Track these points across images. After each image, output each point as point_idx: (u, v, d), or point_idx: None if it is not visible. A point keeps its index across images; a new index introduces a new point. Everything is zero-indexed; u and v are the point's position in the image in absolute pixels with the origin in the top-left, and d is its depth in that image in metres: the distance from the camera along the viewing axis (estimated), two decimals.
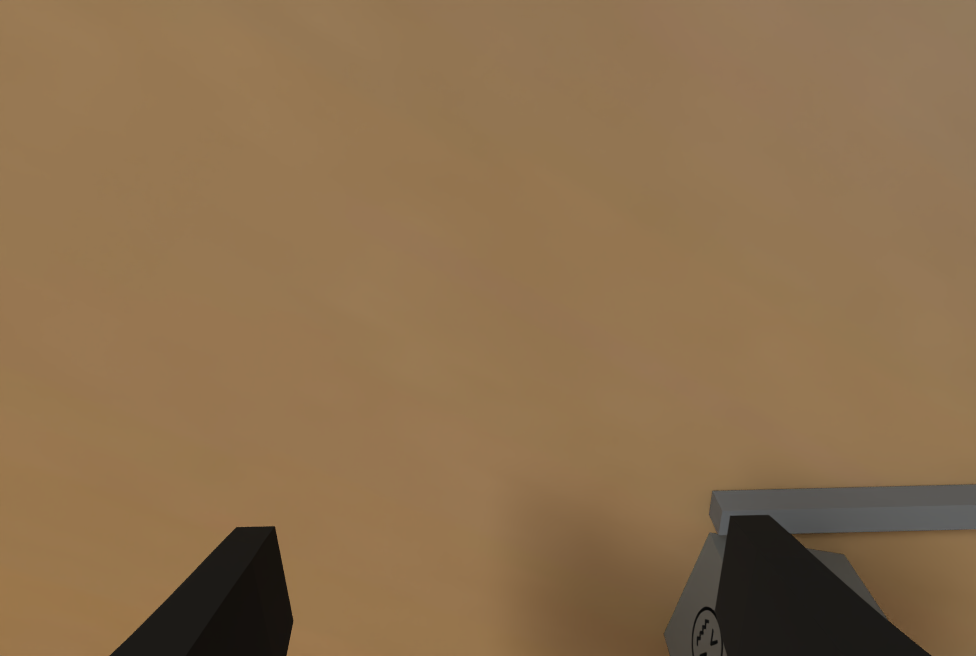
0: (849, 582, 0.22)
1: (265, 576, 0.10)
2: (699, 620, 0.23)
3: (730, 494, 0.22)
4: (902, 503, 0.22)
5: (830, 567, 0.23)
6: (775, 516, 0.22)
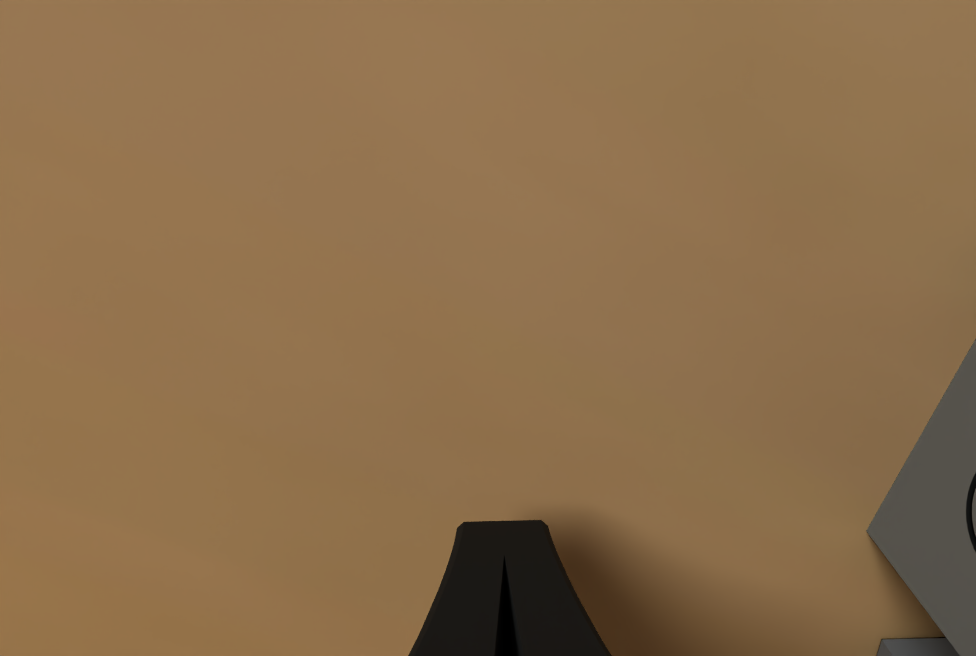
0: None
1: None
2: None
3: None
4: None
5: None
6: None
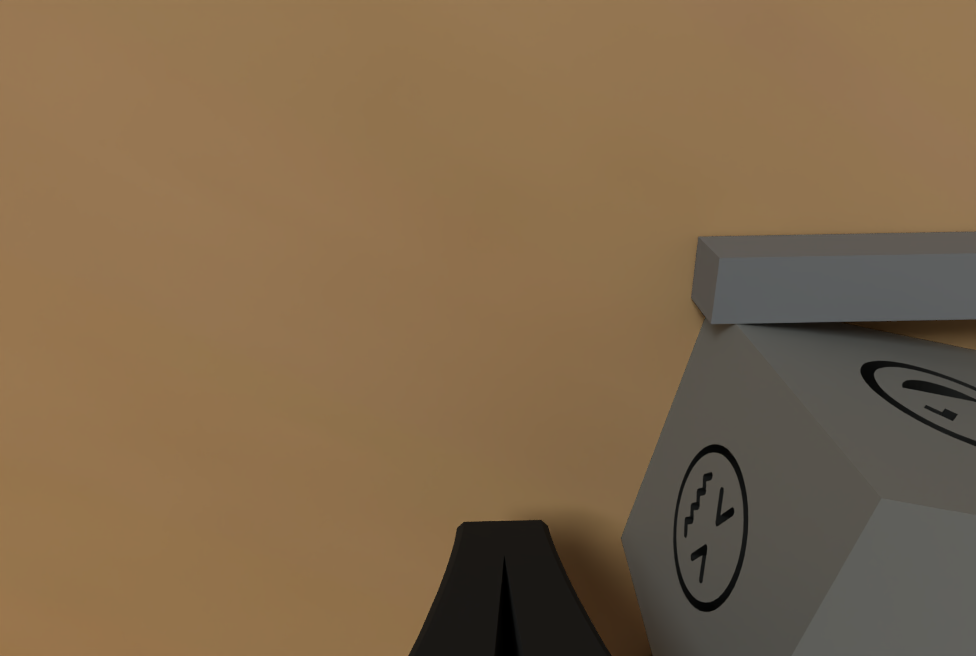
0: None
1: None
2: (690, 482, 0.10)
3: (737, 240, 0.10)
4: None
5: None
6: (842, 274, 0.09)
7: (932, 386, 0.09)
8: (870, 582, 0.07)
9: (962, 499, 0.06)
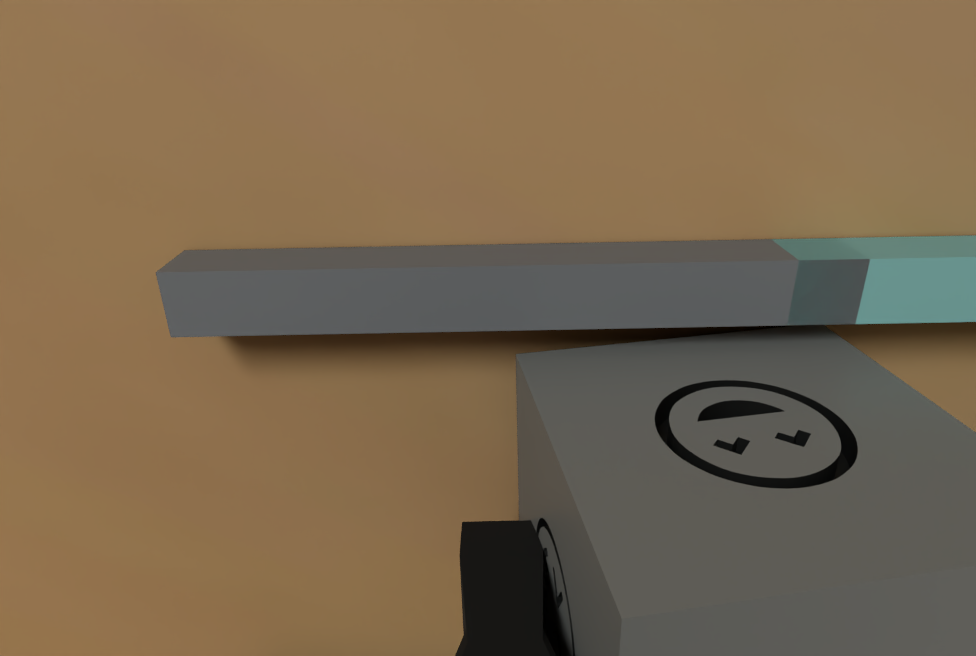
0: (846, 369, 0.10)
1: None
2: None
3: (213, 254, 0.10)
4: (571, 261, 0.10)
5: (799, 352, 0.10)
6: (283, 287, 0.10)
7: (735, 403, 0.09)
8: None
9: (717, 582, 0.06)
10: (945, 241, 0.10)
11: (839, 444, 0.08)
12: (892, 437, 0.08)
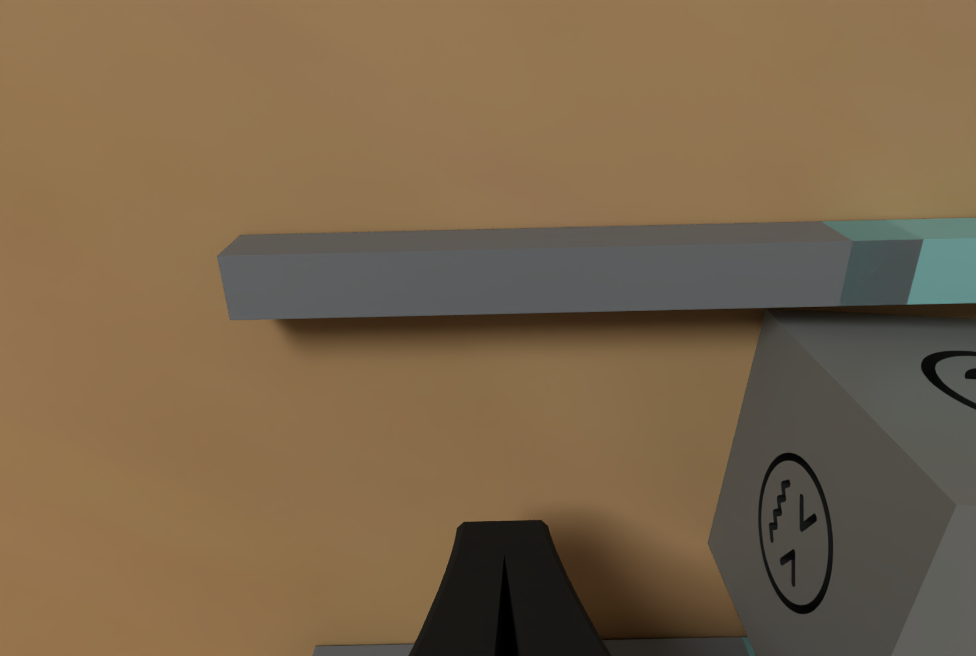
0: None
1: None
2: (769, 489, 0.11)
3: (269, 238, 0.10)
4: (626, 242, 0.10)
5: None
6: (342, 270, 0.10)
7: None
8: (958, 581, 0.07)
9: None
10: None
11: None
12: None
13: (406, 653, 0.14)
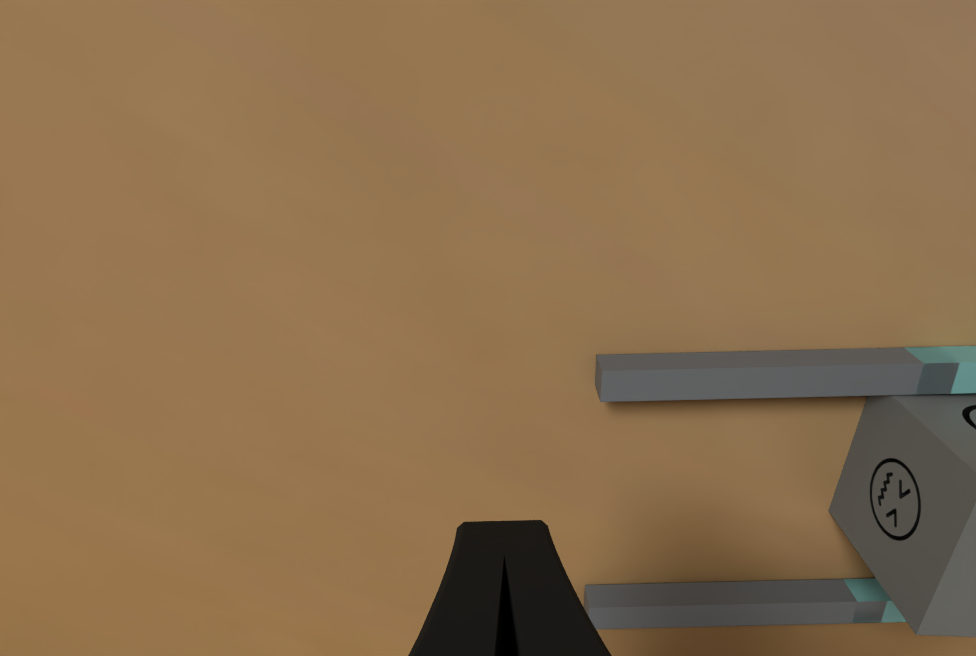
0: None
1: None
2: (877, 477, 0.20)
3: (615, 357, 0.20)
4: (808, 363, 0.19)
5: None
6: (664, 377, 0.19)
7: None
8: None
9: None
10: None
11: None
12: None
13: (642, 588, 0.23)
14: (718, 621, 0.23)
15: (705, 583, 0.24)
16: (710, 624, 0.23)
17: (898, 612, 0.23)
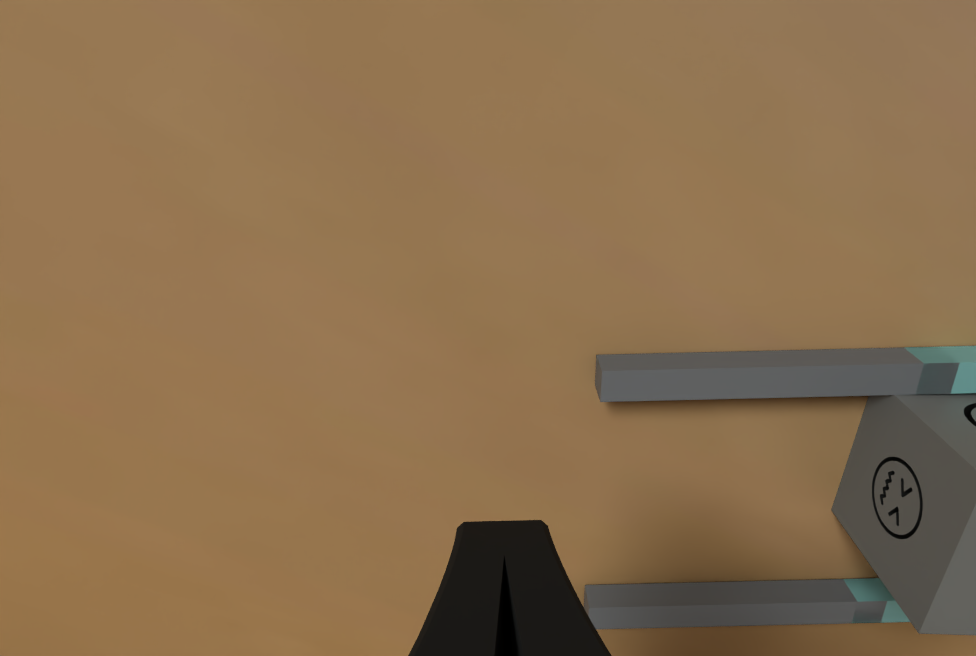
0: None
1: None
2: (879, 476, 0.20)
3: (615, 357, 0.20)
4: (808, 363, 0.19)
5: None
6: (664, 377, 0.19)
7: None
8: None
9: None
10: None
11: None
12: None
13: (642, 588, 0.23)
14: (718, 621, 0.23)
15: (705, 583, 0.24)
16: (710, 624, 0.23)
17: (898, 612, 0.23)
